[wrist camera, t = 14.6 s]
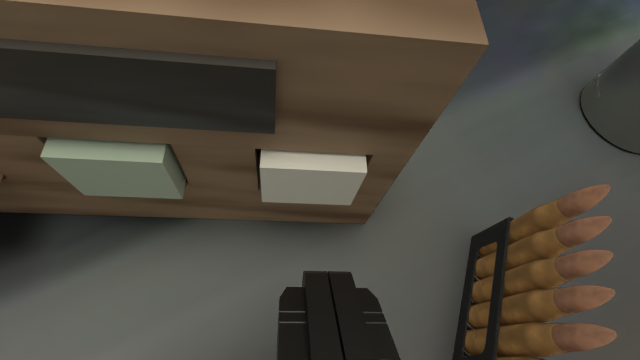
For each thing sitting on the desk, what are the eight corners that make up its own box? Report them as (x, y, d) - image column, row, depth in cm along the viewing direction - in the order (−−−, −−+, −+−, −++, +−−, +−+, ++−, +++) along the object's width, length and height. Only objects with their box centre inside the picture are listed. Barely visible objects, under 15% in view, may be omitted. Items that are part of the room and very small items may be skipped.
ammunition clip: (475, 390, 24) (643, 418, 13) (449, 380, 24) (593, 400, 13) (494, 244, 29) (627, 176, 18) (471, 235, 29) (590, 164, 18)
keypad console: (-24, 130, 27) (-440, -186, 11) (359, 151, 31) (454, -71, 15) (-66, 215, 24) (-712, -54, 8) (364, 228, 28) (491, 53, 12)
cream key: (267, 125, 24) (266, 80, 20) (346, 130, 25) (360, 87, 21) (262, 201, 21) (259, 167, 18) (350, 205, 22) (367, 172, 18)
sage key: (108, 116, 23) (75, 66, 19) (196, 121, 23) (181, 74, 19) (84, 195, 20) (39, 156, 16) (182, 199, 21) (162, 163, 17)
